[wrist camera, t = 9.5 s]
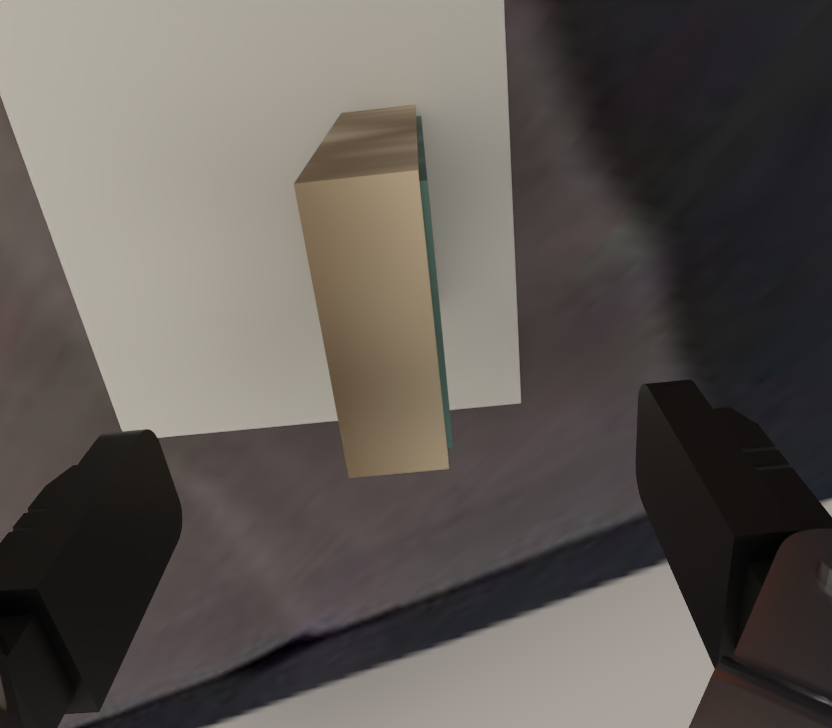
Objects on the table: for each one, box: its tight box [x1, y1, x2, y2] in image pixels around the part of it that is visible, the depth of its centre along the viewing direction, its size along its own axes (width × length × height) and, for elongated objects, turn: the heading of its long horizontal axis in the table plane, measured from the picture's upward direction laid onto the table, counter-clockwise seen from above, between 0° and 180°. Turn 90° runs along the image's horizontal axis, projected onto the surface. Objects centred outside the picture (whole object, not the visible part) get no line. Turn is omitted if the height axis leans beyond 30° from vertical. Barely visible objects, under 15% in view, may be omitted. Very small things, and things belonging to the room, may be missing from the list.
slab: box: [294, 105, 453, 478], centre depth 19 cm, size 2×7×10 cm, turn 6°
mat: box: [0, 0, 521, 438], centre depth 24 cm, size 16×16×1 cm
